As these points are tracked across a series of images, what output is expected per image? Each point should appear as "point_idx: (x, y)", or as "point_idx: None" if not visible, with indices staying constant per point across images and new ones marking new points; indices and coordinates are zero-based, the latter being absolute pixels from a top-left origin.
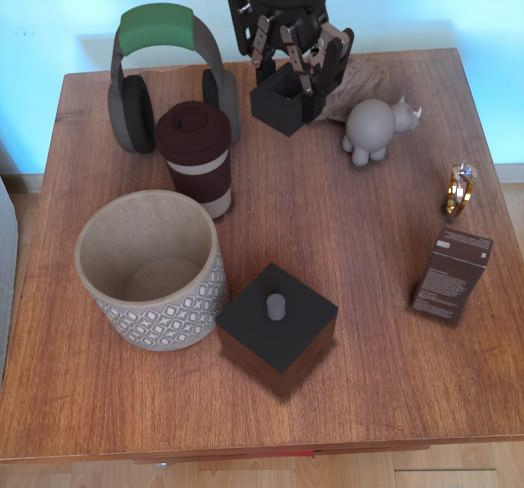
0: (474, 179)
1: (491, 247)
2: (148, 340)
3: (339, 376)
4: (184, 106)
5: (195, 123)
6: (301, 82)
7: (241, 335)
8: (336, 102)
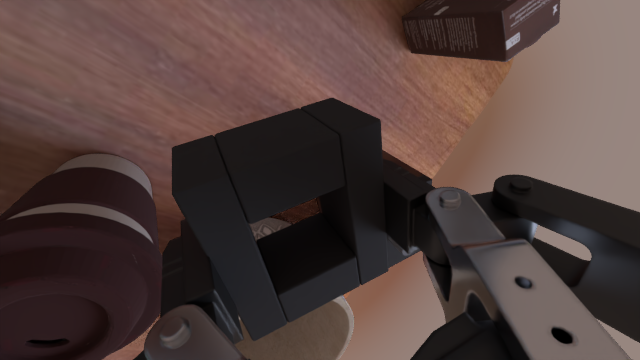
0: None
1: None
2: None
3: (402, 159)
4: None
5: (63, 313)
6: (434, 284)
7: (388, 266)
8: None
